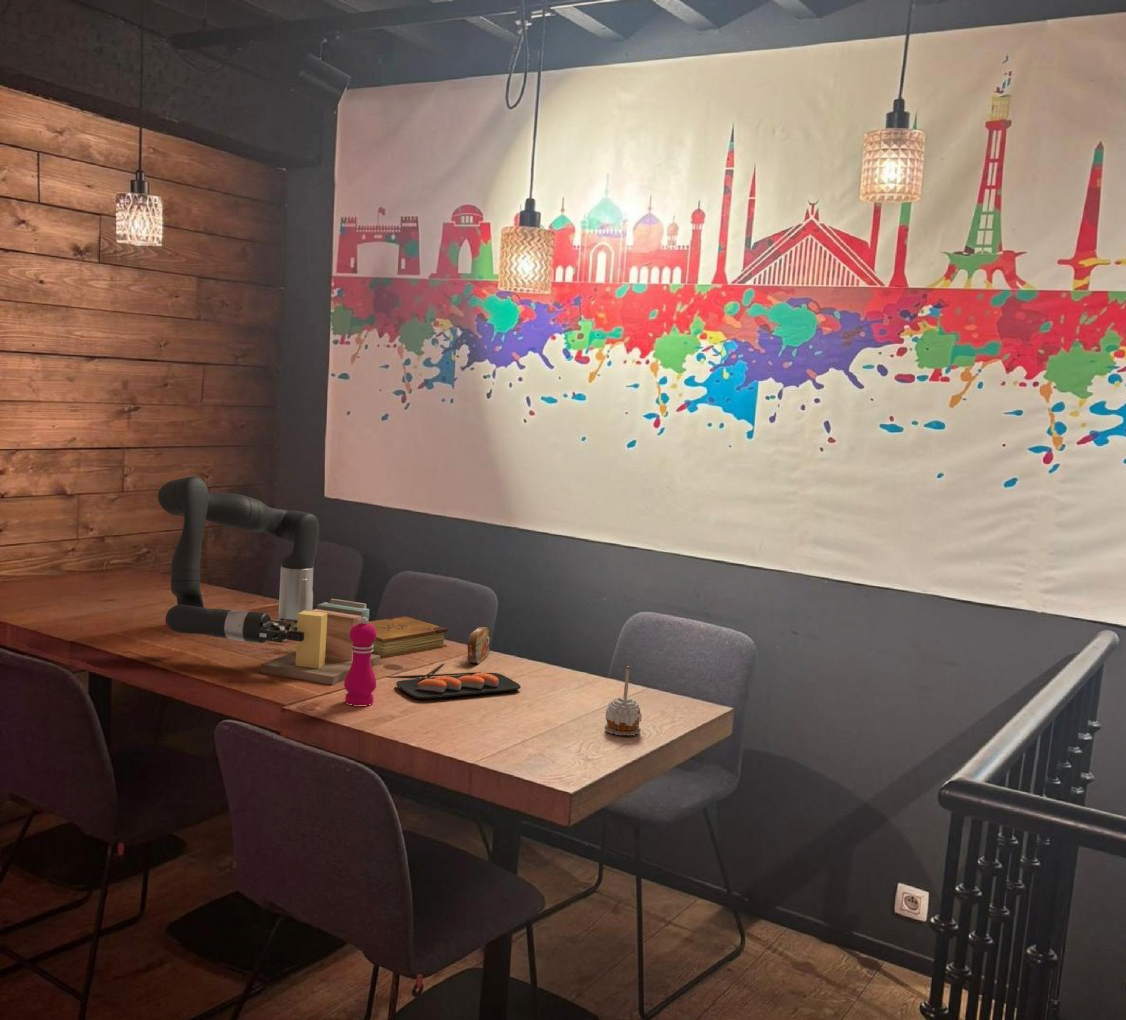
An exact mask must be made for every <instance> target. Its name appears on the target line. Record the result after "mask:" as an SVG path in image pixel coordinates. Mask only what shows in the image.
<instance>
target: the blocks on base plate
mask: <svg viewBox="0 0 1126 1020" xmlns="http://www.w3.org/2000/svg"><path fill="white" fill-rule="evenodd" d="M311 611H313V612H322V613H327V632H326V650H325V665H323V666H322V667H320V668H312V667H304V666H295V665H296V650H295V651H292V652H289V653H287V654H284V655H282V656H281V655H280V656H279V657H275V658H273V659H271V660H269V661H265V662H263V663H260V673H263V674H268V673H269V674H270V675H275V676H280V677H287V678H292V679H297V680H303V681H308V682H309V681H310V682H315V683H320V684H325V685H330V684H331V686H335V685H337V684H338V683H340V682H342V681H345V678H346V675H347V673H348V671H349V670H350V667H351V665H352V662H353V651H351V648H352V647H351V645H352V644H353V642H352V641H351V639H350V631H351V629H352V627H353V626H354V625H356V624H359V623H360V619H361V618H362V617H366V618H367V619H368V622H367V624H369V622H370V620H369V619H370V608H367V603H363V602H357V601H351V600H343V599H336V598H331V599H330V601H329V602H326V601H325V602H322V603H319V604H317V605H316V608H315V609H312V610H311ZM381 659H382V658H381V655H375V654H371V666H372V668H373V667H375V666H377V665H379V664H381Z"/></svg>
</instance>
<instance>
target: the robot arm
mask: <svg viewBox="0 0 1126 1020" xmlns="http://www.w3.org/2000/svg"><path fill="white" fill-rule="evenodd" d="M157 500H158V503H159V505H160V507H161V508H162V509H163V511H165V512H166V513H168V514H170V515H173V516H178V517H183V526H182V527H183V528H182V531H181V534H180V537H179V540H178V542H177V545H176V546H175V548H174V549H175V550H173V551H174V552H173V555H172V558H171V563H170V591H171V593H172V595H174V596H175V598H176V601H177V602H176V603H177V604H176V605H174V606H172V607H171V608H170V609H168V611H167V612H166V614H165V623H166V625H167V627H168V628H169V629H170V630H171V631H173V632H175V633H178V634H179V633H180V634H189V635H193V634H195V635H206V636H210V637H214V638H222V639H230V640H234V641H239V642H248V643H258V644H264V643H265V642H267V641H268V642H275V643H283V641H284V642H287V641H294V642H297V641H303V640H304V632H298V631H297V625H298V613H300V612H302V611H311V610H313V605H314V604H313V603H314V591H313V588H314V587H313V585H314V566H315V560H316V558H317V554H318V547H319V537H320V524H319V519H318V517H317V516H316V515H314V514H312V513H309V512H305V511H299V510H294V509H293V510H291V509H288V510H287V509H282V508H281V509H280V508H275V507H274V508H273V507H271V506H268V505H266V504H265V503H264V502H263V501H261V500H259V499H257V498H253V497H250V496H247V495H243V494H240V493H239V494H238V493H232V492H231V493H229V492H228V493H227V492H209V487H208V485H207V484H206V483H205V481H204V480H203V479H201V478H200V477H197V476H187V477H182V478H177V479H172V480H170V481H167V482H166V483H164V484H163V485H162V486H161V487H160V488H159V490H158V493H157ZM206 521H208V522H210V523H215V524H218V525H222V526H226V527H228V528H229V527H230V528H232V529H235V530H236V529H237V530H240V531H245V532H252V533H258V532H259V533H261V532H262V533H264V534H265V533H266V534H268V535H270V536H273V537H275V538H278V539H280V540H283V541H285V542H288V543H293V546H292V551H291V552H290V553H288V554H284V555H283V556H282V557H281V559H280V560H281V561H280V574H279V575H280V578H279V579H280V580H279V595H278V596H279V599H278V619H276V620H275V621H273V620H272V619H271V616H270V615H269V613H268V612H264V611H263V612H262V611H254V610H253V611H252V610H240V609H238V610H235V609H233V610H232V609H225V608H207V607H206V608H205V606H204V601H203V596H202V591H201V554H202V553H201V552H202V545H203V538H204V532H205V528H206V527H205V526H206Z"/></svg>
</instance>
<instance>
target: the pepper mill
mask: <svg viewBox="0 0 1126 1020" xmlns="http://www.w3.org/2000/svg"><path fill="white" fill-rule="evenodd" d="M367 622H368V619H367V618H366V617H362V618H361V619H360V623H359V624H356V625H354V626H353V627H352V629H351V631H350V639H351V641H352V642H353V644H352V645H351V647H352V648H351V651H353V662H352V665H351V667H350V670H349V671H348V673H347V675H346V678H345V680H344V682H343V687H344V689H345V690H346V691H347V693H346V694H345V701H344V703H345V704H346V703H348V704H352V705H369V704H371V705H373V704H372V703H374V695H373V692H374V691H375V689H376V688H377V679H376V675H375V673H374V670H373V667H372V666H371V652H373V647H374V646H373V644H372V643H373V642H374V641H375V640H376V630H375V628H374V627H373V626H372V625H370V624H367ZM348 704H347V705H348ZM369 706H370V705H369Z"/></svg>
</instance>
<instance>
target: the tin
mask: <svg viewBox="0 0 1126 1020" xmlns="http://www.w3.org/2000/svg"><path fill="white" fill-rule="evenodd" d="M491 639H492V637H491V629H490V628H489V626H486V627H485V626H479V627H477V628H476V629H474V631H472V632H470V634H469V636H468V640H467V661H468V662H469V663H471V664H478V665H479V664H481V663H482V662H483V661H484V660H485V659H487V658H488V656H489V655H490V651H491V642H492V641H491Z"/></svg>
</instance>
